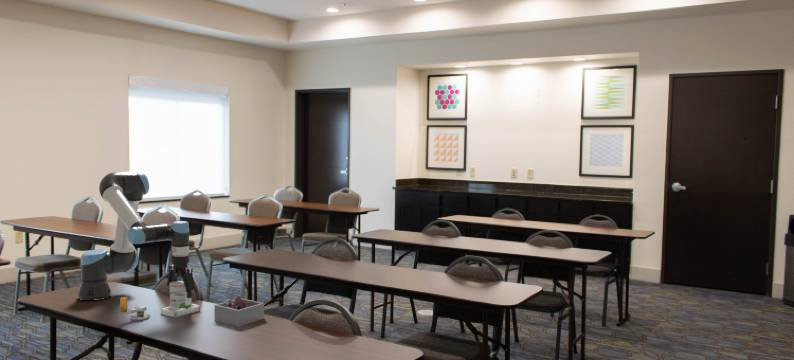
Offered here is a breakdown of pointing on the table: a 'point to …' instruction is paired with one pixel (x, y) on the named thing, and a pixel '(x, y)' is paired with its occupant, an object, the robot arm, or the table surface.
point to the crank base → (140, 316)
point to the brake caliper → (236, 303)
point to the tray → (179, 311)
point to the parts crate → (239, 313)
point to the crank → (124, 307)
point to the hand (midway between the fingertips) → (180, 303)
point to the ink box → (178, 295)
